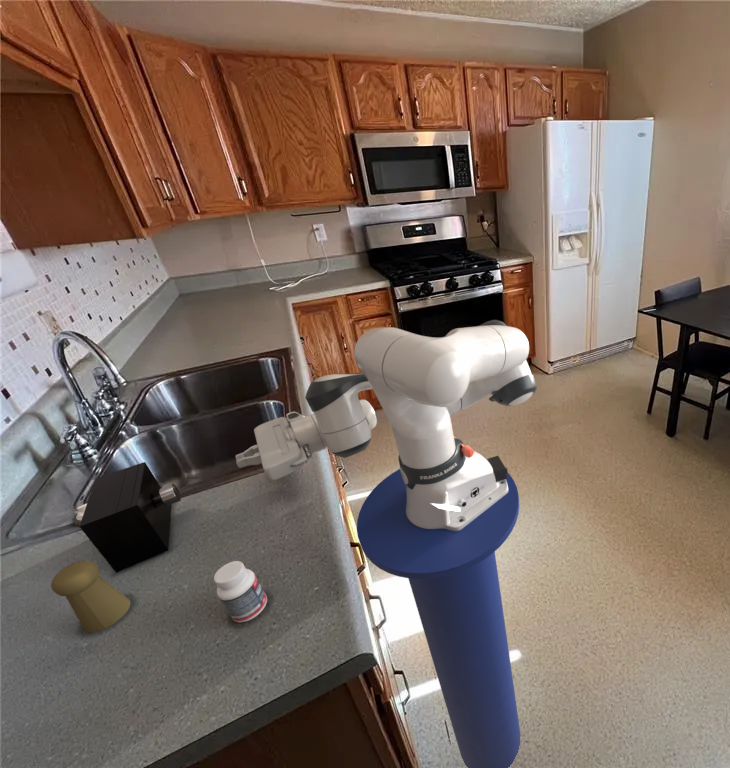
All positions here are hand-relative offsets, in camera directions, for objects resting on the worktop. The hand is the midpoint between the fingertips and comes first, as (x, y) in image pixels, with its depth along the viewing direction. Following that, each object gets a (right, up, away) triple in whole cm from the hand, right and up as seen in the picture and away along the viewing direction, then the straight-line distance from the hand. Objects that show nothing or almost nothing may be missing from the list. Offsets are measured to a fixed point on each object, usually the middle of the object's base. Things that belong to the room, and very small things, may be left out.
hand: (236, 462), depth 89 cm
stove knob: (-32, -12, +2) cm, 34 cm away
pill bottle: (+17, -20, -21) cm, 34 cm away
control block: (-15, -14, -5) cm, 21 cm away
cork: (-8, -22, -20) cm, 31 cm away
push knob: (-11, -8, -5) cm, 14 cm away
